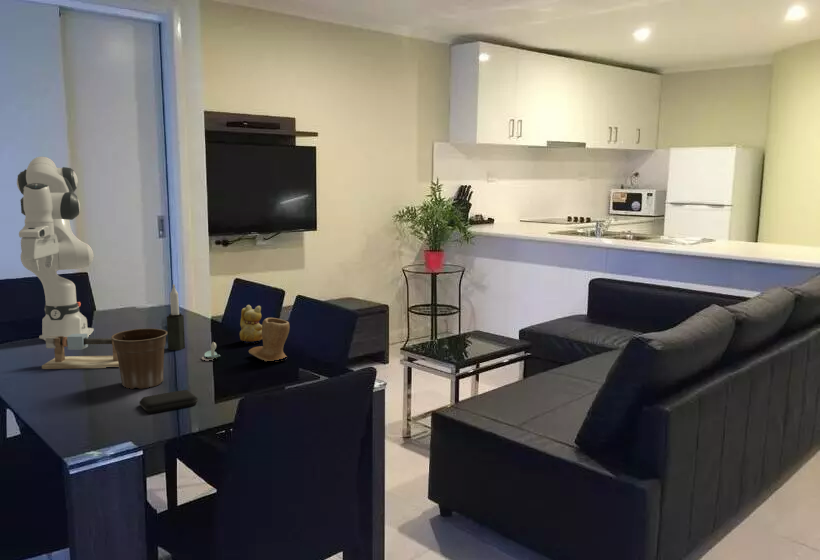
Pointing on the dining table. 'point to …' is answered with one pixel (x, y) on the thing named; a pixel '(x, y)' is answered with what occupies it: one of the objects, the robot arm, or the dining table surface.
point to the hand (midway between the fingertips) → (42, 269)
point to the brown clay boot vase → (272, 340)
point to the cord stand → (78, 361)
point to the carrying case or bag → (168, 401)
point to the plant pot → (140, 357)
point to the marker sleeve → (76, 341)
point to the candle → (175, 324)
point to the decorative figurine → (251, 324)
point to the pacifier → (211, 353)
